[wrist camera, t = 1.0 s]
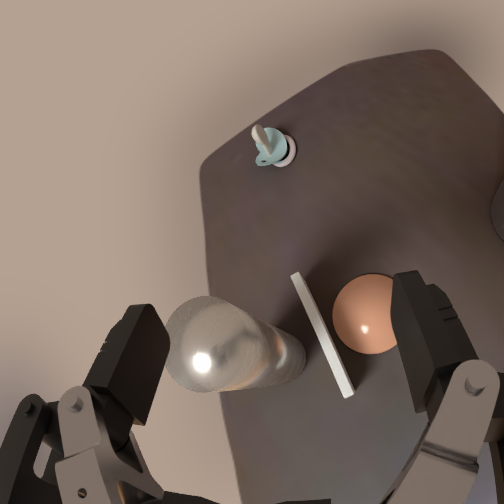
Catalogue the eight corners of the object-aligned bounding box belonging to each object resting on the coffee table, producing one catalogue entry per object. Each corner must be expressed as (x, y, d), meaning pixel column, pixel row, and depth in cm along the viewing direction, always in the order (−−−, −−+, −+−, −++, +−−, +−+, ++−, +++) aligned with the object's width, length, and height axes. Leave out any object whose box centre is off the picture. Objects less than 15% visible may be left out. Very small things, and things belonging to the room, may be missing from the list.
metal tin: (282, 322, 35) (207, 277, 19) (317, 358, 32) (268, 347, 16) (245, 356, 35) (147, 338, 19) (278, 394, 32) (195, 411, 16)
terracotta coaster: (369, 259, 34) (369, 258, 33) (426, 309, 29) (426, 309, 29) (316, 316, 34) (316, 315, 33) (371, 370, 29) (372, 370, 29)
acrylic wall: (298, 285, 36) (290, 276, 32) (305, 282, 36) (298, 271, 32) (346, 394, 29) (344, 398, 26) (354, 391, 29) (353, 394, 25)
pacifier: (295, 133, 45) (258, 140, 47) (285, 104, 40) (245, 113, 41) (298, 169, 42) (258, 175, 44) (288, 140, 37) (243, 149, 39)
